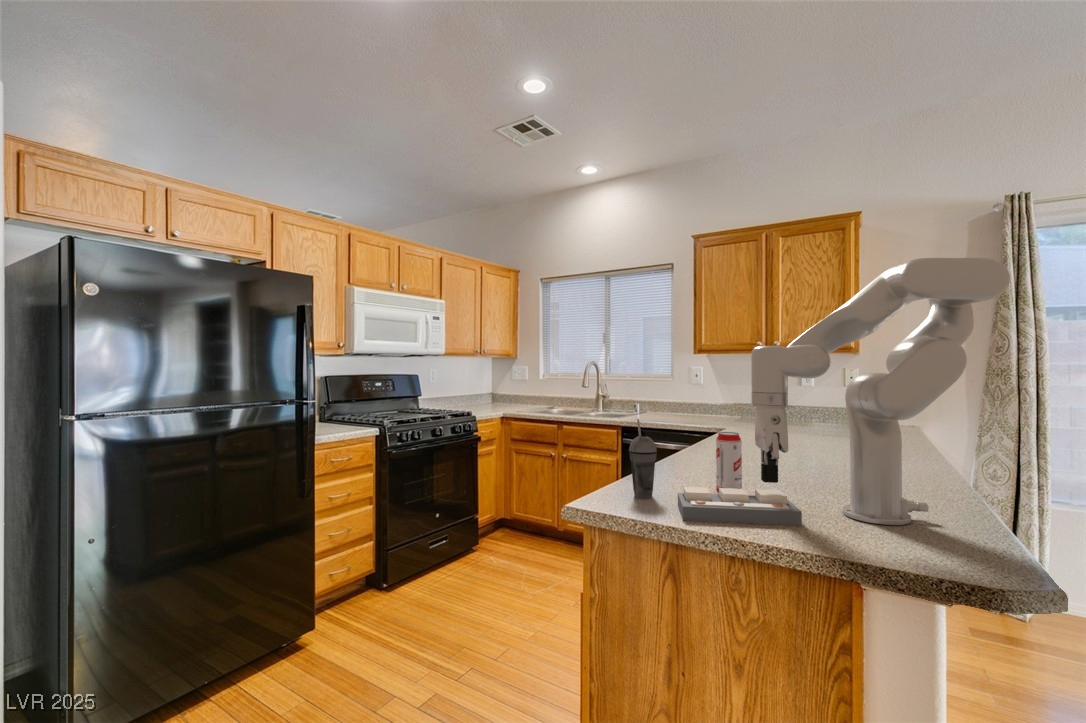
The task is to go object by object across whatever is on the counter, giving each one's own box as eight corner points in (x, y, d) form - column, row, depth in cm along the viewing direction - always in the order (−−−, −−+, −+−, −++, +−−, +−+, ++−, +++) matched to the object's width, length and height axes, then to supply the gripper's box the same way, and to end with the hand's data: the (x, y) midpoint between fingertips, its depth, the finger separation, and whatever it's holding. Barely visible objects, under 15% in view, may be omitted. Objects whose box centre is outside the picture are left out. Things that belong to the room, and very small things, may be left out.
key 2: (779, 503, 115) (779, 490, 115) (787, 509, 110) (787, 496, 110) (755, 502, 116) (755, 489, 116) (761, 508, 111) (760, 495, 111)
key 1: (707, 500, 118) (707, 487, 118) (711, 506, 112) (711, 493, 112) (683, 499, 119) (683, 486, 119) (686, 505, 113) (686, 492, 113)
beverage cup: (660, 500, 125) (659, 420, 125) (631, 500, 125) (630, 420, 125) (654, 492, 132) (653, 417, 132) (626, 492, 132) (626, 417, 132)
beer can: (744, 493, 130) (743, 432, 131) (739, 499, 125) (738, 435, 125) (719, 490, 134) (719, 431, 134) (713, 496, 129) (713, 433, 129)
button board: (784, 509, 116) (784, 494, 116) (801, 525, 104) (801, 509, 104) (677, 505, 120) (677, 490, 120) (682, 520, 108) (682, 504, 108)
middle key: (743, 501, 116) (743, 488, 116) (748, 508, 111) (748, 494, 111) (719, 500, 117) (718, 487, 117) (723, 507, 112) (723, 493, 112)
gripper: (798, 403, 105) (798, 490, 105) (777, 398, 120) (777, 475, 120) (760, 402, 106) (760, 489, 106) (744, 398, 121) (744, 474, 121)
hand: (769, 481), depth 113 cm, fingers closed
